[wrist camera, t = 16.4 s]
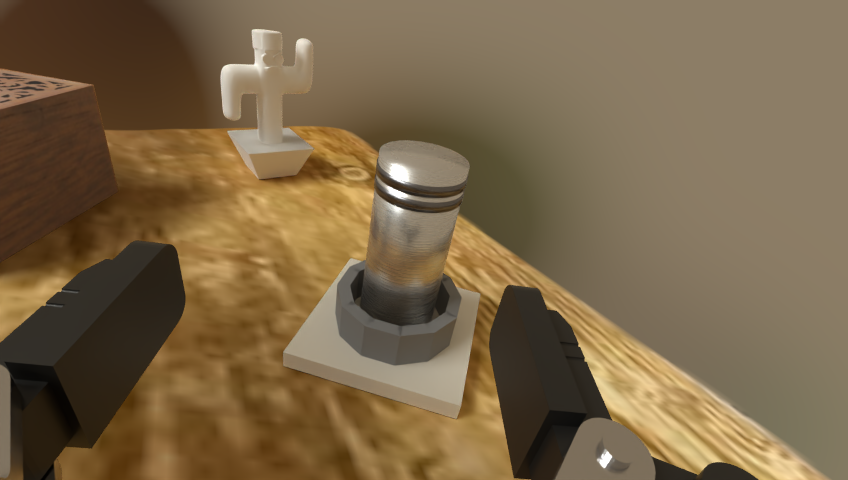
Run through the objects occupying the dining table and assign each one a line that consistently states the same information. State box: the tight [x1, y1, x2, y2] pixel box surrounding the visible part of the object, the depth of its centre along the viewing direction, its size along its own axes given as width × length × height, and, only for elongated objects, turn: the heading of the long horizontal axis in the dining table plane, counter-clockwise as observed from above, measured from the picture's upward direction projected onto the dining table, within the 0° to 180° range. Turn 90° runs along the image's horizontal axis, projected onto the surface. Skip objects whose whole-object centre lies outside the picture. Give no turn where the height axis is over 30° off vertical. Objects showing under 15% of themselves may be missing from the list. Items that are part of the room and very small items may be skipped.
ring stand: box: [283, 258, 480, 419], centre depth 29 cm, size 11×11×4 cm
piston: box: [360, 141, 470, 326], centre depth 26 cm, size 5×5×12 cm
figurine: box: [221, 29, 314, 180], centre depth 45 cm, size 7×9×15 cm
